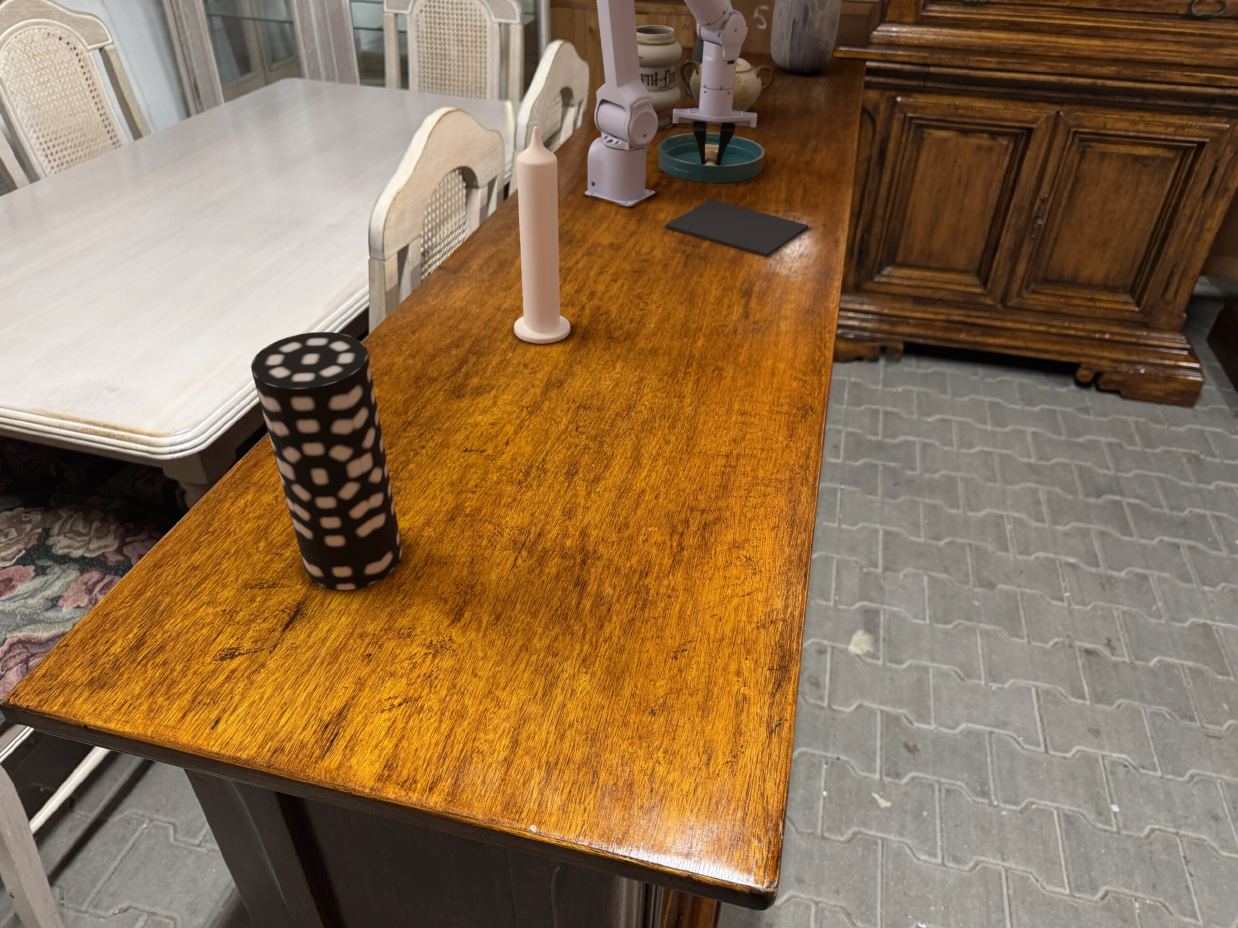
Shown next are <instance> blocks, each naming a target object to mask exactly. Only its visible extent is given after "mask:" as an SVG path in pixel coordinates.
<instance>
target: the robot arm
mask: <svg viewBox="0 0 1238 928" xmlns="http://www.w3.org/2000/svg"><path fill="white" fill-rule="evenodd" d="M683 1H684V3H685V5H686V6H687V8H688V9H689V11H690V12H691V14H692V15H693V17H694V19H695V22H696V33H697V37H698V38H701V39H702V40H703V41H704V48H703V62H702V75H701V88H700V101H699V106H698V107H697V108H695V107H694V108H673V109H672V121H673V124H679V123H682V124H692V127H691V128H692V129H691V130H692V133H694V136H695V138H696V141H697V145H698V148H699V153H700V160H701V164H704V165H705V142H706V133H707V129H708V128H707V127H708V125H719V127H720V128H719V133H720V138H719V147H718V153H717V160H716V165H721V161H722V158H723V155H724V152H725V150H726V147H727V145H728V143H729V142H730V140H731V138H732V137H733V135H734V134H735V133H736V126H742V127H749V128H757V122H758V113H757V112H749V111H746V112H742V111H736V110H732V104H733V93H734V83H735V73H736V63H737V59H738V58H740V56H741V49H742V46H743V43H744V42H745V41H746V38H747V35H748V32H749V28H748V27H747V22H746V19H745V17H744V15H743V14H742V12H741V11H739V10H737V9H733V6H732V4H731V2H732V1H731V0H683ZM596 6H597V15H598V16H597V17H598V25H599V35H600V45H601V53H602V62H603V69H604V70H603V71H604V73H603V74H604V81H605V83H603V84H602V85H601V86H600V87H599V88H598V89H597V90H596V92H595V94H596V106H595V109H594V116H593V117H594V124H595V126H596V128H597V130H598V131H599V132H600V136H599V137H596V138H595V139H594V140H593V141H592V142H591V144H590V147H589V149H588V153H587V190H585V191H584V195H586V196H588V197H591V196H593V197H596V198H599V199H603V200H606V201H610V202H612V203H613V204H614V203H615V204H616V205H620V206H623V207H627V208H631V207H633V206H635V205H636V204H637V203H638V202H641V201H643V200H645V199H646V198H648V197H651V196H653V195H654V194H656V191H655V190H651V189H647V188H646V181H647V180H646V179H647V156H648V155H647V154H648V153H647V152H648V147H650V146H651V145H650V143H651V142H652V141H653V139H654V138H655V136H656V134H657V131H658V128H657V127H658V118H657V115H656V113H655V111H654V109H653V106H652V100H651V95H650V94H649V92H648V91H647V89H646V88H645V86H644V85H643V83H642V82H641V79H640V68H639V55H638V43H637V31H636V27H637V20H636V19H637V18H636V9H635V0H596ZM734 136H735V135H734Z"/></svg>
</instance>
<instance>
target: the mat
mask: <svg viewBox="0 0 1238 928" xmlns="http://www.w3.org/2000/svg"><path fill="white" fill-rule="evenodd" d="M665 228H667V229H670V230H673V231H677V232H680V233H684V234H687V235H691V236H694V237H698V238H701V239H705V240H708V241H711V242H715V243H718V244H721V245H726V246H729V247H732V248H736V249H740V250H743V251H747V252H750V253H753V254H756V255H759V256H763V257H766V258H768V257H769V256H771V255H772V254H773V253H774V252H776V251H777V250H779V249H780V248H782V247H783V246H785V245H787V243H789V242H790V241H792V240H793V239H795V238H796V237H797V236H799V235H800V234H802V233H803V232H805V231H806V230H807V229H808V228H809V224H805V223H802V222H797V221H794V220H790V219H786V218H783V217H778V216H775V215H771V214H768V213H763V212H760V211H756V210H752V209H748V208H744V207H741V206H737V205H733V204H731V203H726V202H723V201H718V200H714V199H709V200H707V201H706V202H703V203H702V204H700V205H698V206H696V207H694V208H693V209H691V210H689V211H688V212H686V213H683V214H682V215H680V216H679V217H676V218H675V219H672V220H671V221H670V222H668V223H666V224H665Z"/></svg>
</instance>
